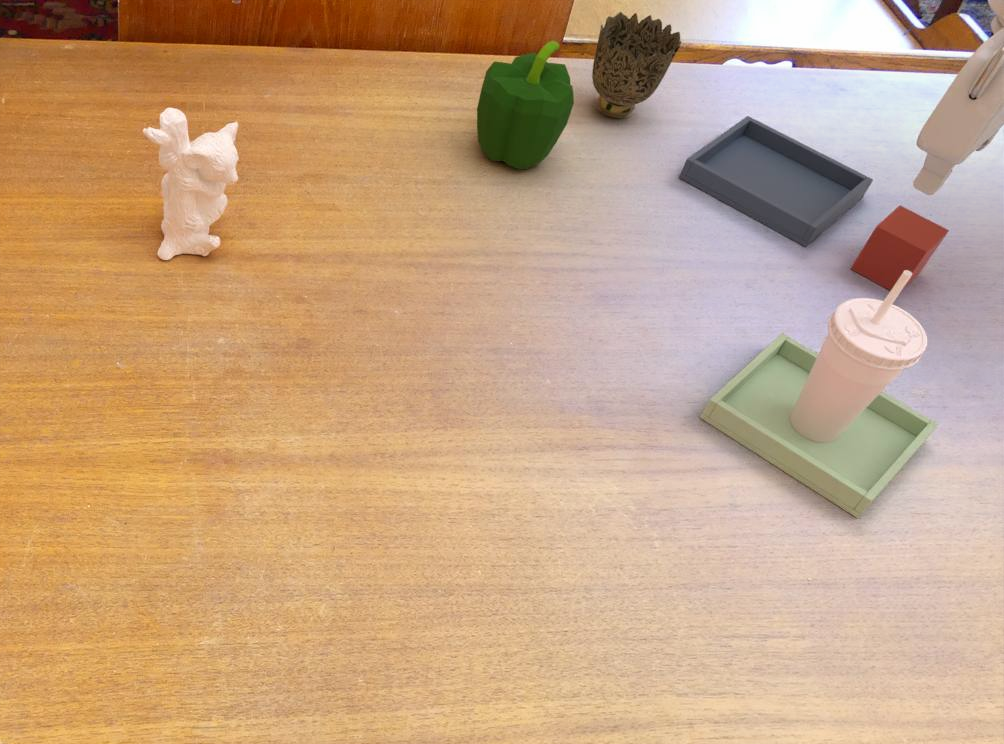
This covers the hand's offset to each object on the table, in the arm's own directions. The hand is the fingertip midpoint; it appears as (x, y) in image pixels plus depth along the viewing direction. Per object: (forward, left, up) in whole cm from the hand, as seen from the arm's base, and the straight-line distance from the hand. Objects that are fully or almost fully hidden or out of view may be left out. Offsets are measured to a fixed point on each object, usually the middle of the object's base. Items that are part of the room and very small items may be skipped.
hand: (949, 166), depth 89 cm
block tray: (+13, -3, -10) cm, 17 cm away
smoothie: (-5, +23, -10) cm, 25 cm away
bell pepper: (+32, +12, -11) cm, 36 cm away
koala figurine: (+42, +44, -11) cm, 61 cm away
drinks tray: (-5, +23, -10) cm, 26 cm away
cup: (+30, -2, -11) cm, 32 cm away
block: (0, 0, -10) cm, 10 cm away
